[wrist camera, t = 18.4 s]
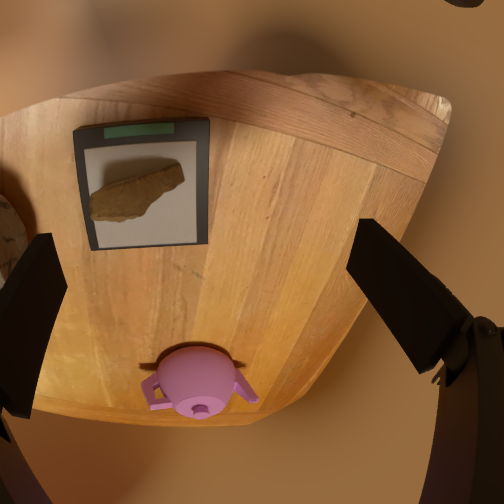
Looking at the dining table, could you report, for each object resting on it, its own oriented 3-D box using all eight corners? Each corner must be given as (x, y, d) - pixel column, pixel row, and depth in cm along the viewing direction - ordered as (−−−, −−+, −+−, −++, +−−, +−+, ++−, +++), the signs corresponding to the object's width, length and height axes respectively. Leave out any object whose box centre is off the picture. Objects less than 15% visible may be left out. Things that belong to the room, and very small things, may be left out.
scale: (80, 126, 30) (70, 131, 27) (208, 116, 33) (210, 120, 30) (95, 239, 38) (89, 253, 35) (206, 233, 42) (208, 246, 39)
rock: (196, 143, 29) (100, 134, 25) (198, 218, 26) (86, 212, 22) (174, 195, 38) (100, 191, 34) (176, 257, 35) (94, 255, 31)
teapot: (145, 385, 58) (146, 433, 48) (137, 340, 50) (134, 396, 40) (243, 382, 64) (254, 428, 54) (254, 338, 56) (270, 390, 46)
